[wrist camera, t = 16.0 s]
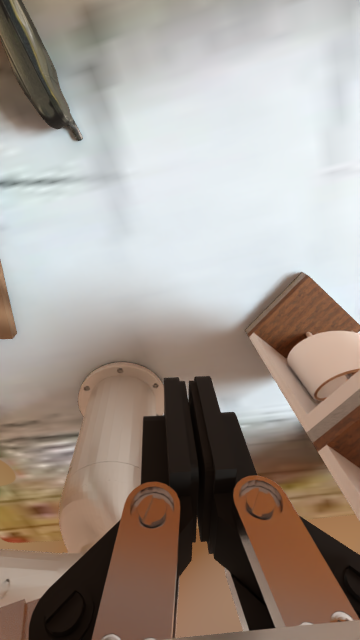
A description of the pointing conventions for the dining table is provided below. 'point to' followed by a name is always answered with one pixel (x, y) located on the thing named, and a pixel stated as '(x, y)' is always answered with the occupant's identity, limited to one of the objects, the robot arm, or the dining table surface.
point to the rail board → (5, 311)
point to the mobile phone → (33, 65)
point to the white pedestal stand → (317, 373)
